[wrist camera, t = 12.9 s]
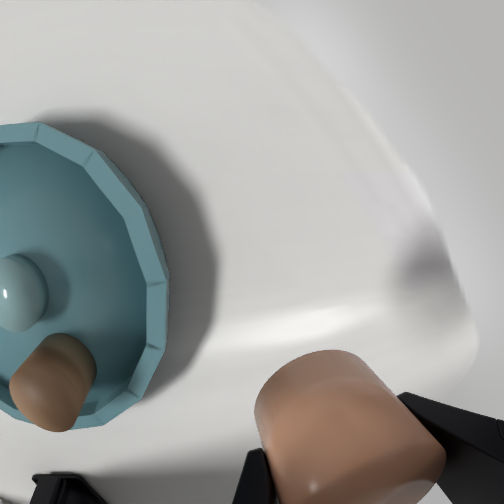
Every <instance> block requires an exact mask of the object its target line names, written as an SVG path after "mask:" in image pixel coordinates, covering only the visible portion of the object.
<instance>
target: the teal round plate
mask: <svg viewBox="0 0 504 504" xmlns="http://www.w3.org/2000/svg"><path fill="white" fill-rule="evenodd" d="M169 276H170V274H169V271H168V268H167V262H166V257H165V253H164V250H163V246H162V242H161V238H160V236H159V233H158V231H157V228H156V226H155V223H154V221H153V218H152V216H151V214H150V212H149V210H148V208H147V206H146V204H145V203H144V201H143V199H142V197H141V196H140V194H139V193H138V192H137V190H136V189H135V187H134V186H133V185H132V183H131V182H130V180H129V179H128V178H127V177H126V176H125V175H124V173H123V172H122V171H121V170H120V169H119V168H118V167H117V166H116V165H115V164H114V163H113V162H112V161H111V160H109V159H108V157H107V156H106V155H105V153H104V152H102V151H100V150H98V149H96V148H94V147H92V146H90V145H89V144H87V143H85V142H84V141H82V140H79V139H77V138H74V137H72V136H70V135H68V134H66V133H64V132H62V131H60V130H58V129H56V128H54V127H52V126H49V125H46V124H44V123H41V122H33V123H20V124H8V125H0V409H1V410H3V411H4V412H6V413H7V414H9V415H10V416H12V417H13V418H15V419H18V420H21V421H25V422H28V423H31V424H34V423H32V422H31V421H29V420H28V419H27V418H26V417H25V416H24V415H23V414H22V413H21V412H20V411H19V409H18V408H17V407H16V405H15V403H14V401H13V399H12V397H11V394H10V389H9V383H10V379H11V377H12V375H13V374H14V373H15V372H16V370H17V369H18V368H19V367H20V366H21V365H22V363H23V362H24V361H25V360H26V359H27V358H28V356H29V355H30V354H31V353H32V352H33V351H34V350H35V348H36V347H37V346H38V345H39V344H40V343H41V342H42V341H43V339H44V338H45V337H47V336H48V335H51V334H54V333H63V334H67V335H70V336H73V337H74V338H76V339H78V340H79V341H81V342H82V343H83V344H84V345H85V346H86V347H87V348H88V349H89V351H90V352H91V354H92V355H93V357H94V359H95V362H96V366H97V374H96V378H95V380H94V383H93V385H92V387H91V389H90V391H89V393H88V395H87V398H86V400H85V402H84V404H83V406H82V409H81V411H80V413H79V415H78V418H77V420H76V422H75V424H74V426H73V427H72V428H71V429H69V430H73V429H81V428H89V427H96V426H102V425H105V424H106V423H108V422H109V421H111V420H112V419H113V418H115V417H116V416H118V415H119V414H121V413H122V412H124V411H125V410H126V409H128V408H129V407H131V406H132V405H133V404H135V403H136V402H138V401H139V400H141V398H142V396H143V394H144V392H145V390H146V388H147V386H148V384H149V382H150V380H151V378H152V376H153V374H154V372H155V370H156V368H157V366H158V364H159V362H160V360H161V358H162V356H163V354H164V352H165V348H166V343H167V334H168V313H169V303H170V294H169Z"/></svg>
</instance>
